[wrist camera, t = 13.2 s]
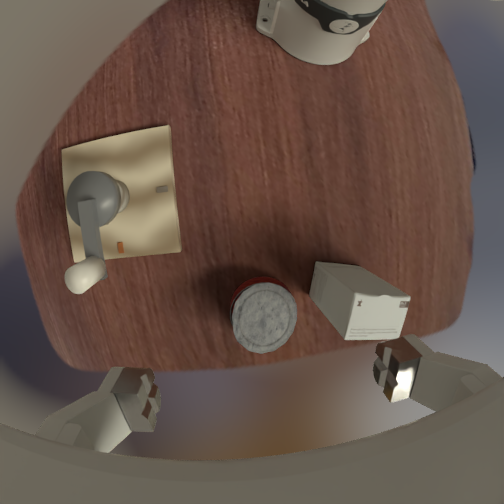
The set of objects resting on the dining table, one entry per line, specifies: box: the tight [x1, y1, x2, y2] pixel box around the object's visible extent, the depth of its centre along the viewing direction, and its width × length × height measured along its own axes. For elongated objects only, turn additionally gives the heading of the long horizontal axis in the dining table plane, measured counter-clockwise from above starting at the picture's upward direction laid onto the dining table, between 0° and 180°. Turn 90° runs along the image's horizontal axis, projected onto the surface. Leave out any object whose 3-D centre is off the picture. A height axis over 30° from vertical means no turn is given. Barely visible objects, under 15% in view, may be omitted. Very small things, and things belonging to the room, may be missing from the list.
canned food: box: [230, 277, 297, 354], centre depth 42 cm, size 11×10×10 cm
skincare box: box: [309, 261, 411, 340], centre depth 37 cm, size 8×6×15 cm
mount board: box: [62, 125, 182, 262], centre depth 36 cm, size 18×18×7 cm
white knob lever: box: [65, 171, 121, 294], centre depth 29 cm, size 7×13×8 cm, turn 4°
